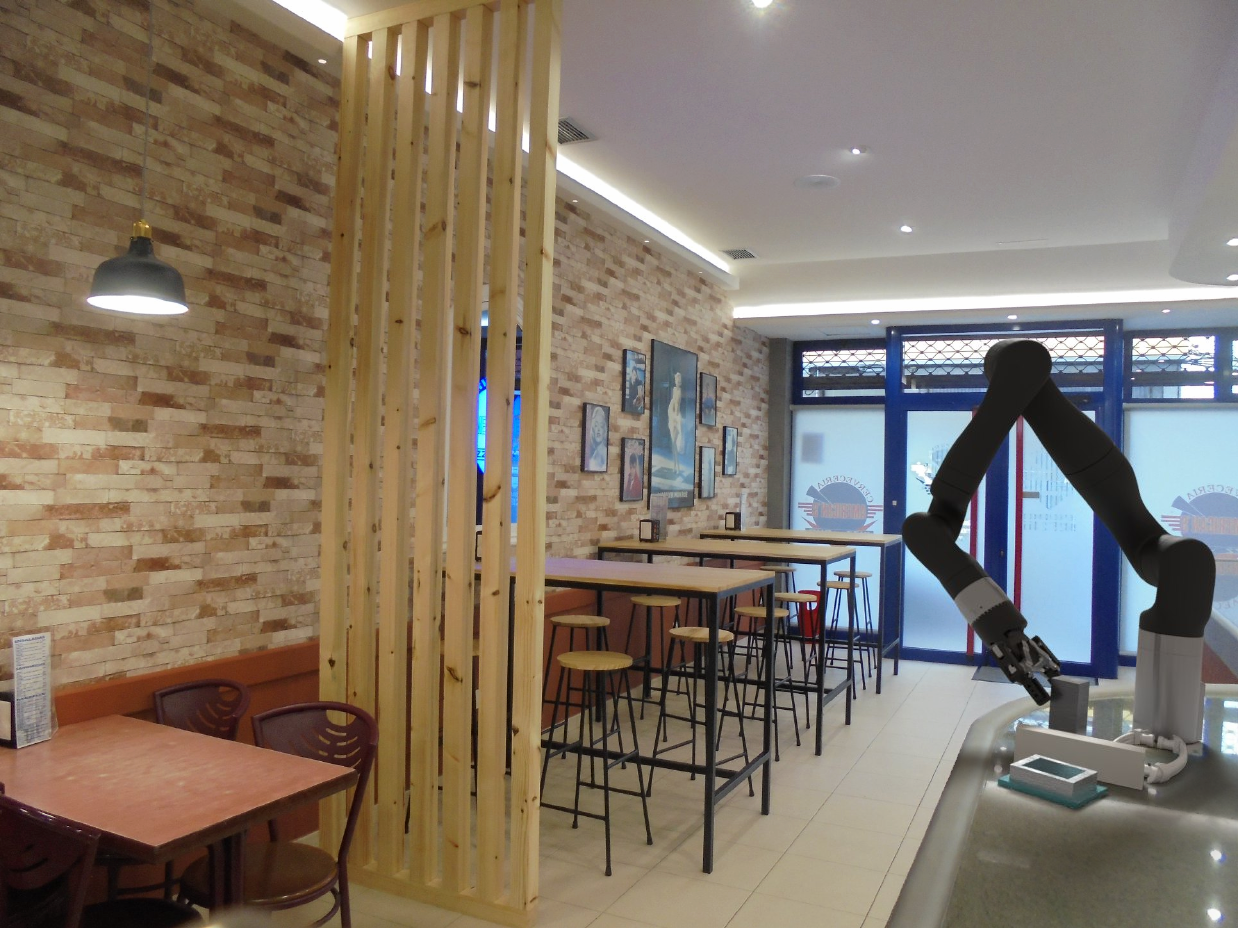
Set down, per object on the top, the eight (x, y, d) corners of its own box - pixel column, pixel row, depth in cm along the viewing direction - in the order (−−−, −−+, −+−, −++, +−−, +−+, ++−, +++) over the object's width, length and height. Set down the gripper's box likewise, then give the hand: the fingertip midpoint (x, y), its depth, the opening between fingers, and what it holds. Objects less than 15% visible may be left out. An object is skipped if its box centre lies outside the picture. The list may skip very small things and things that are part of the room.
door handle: (1196, 754, 140) (1172, 791, 121) (1125, 738, 147) (1092, 772, 127) (1197, 737, 140) (1174, 772, 121) (1126, 722, 147) (1093, 753, 127)
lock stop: (1057, 746, 138) (1062, 675, 138) (1084, 753, 135) (1089, 680, 135) (1046, 750, 135) (1051, 677, 135) (1074, 757, 132) (1079, 683, 132)
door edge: (1013, 761, 128) (1016, 727, 128) (1017, 756, 131) (1019, 722, 131) (1142, 790, 120) (1144, 752, 120) (1143, 784, 122) (1145, 747, 122)
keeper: (1030, 770, 125) (1031, 750, 125) (1107, 793, 117) (1108, 772, 117) (997, 784, 118) (999, 763, 118) (1076, 809, 111) (1078, 787, 111)
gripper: (986, 600, 138) (1057, 691, 130) (1026, 596, 148) (1095, 681, 139) (951, 628, 142) (1018, 718, 134) (993, 622, 152) (1058, 706, 143)
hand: (1057, 699), depth 137 cm, fingers open, 8 cm apart
